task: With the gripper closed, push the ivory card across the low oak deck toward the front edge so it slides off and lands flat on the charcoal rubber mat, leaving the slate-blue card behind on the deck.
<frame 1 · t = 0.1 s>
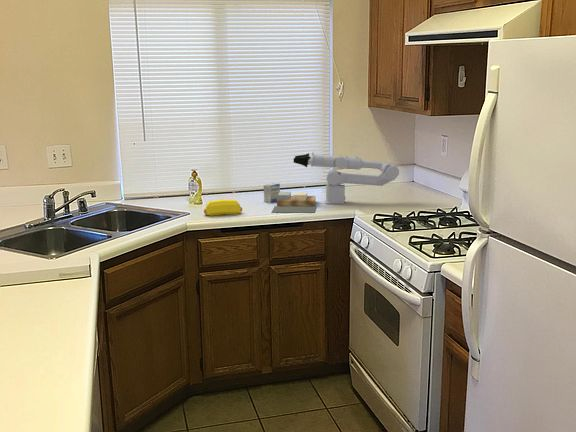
hand: (294, 159, 317), 22 cm above the worktop, tool horizontal, fingers open, 7 cm apart
deck: (296, 204, 318), on the worktop
mat: (294, 209, 304), on the worktop
ivory card: (300, 197, 317), point 3 cm above the worktop, touching deck
slate card: (284, 197, 318), point 3 cm above the worktop, touching deck
medicine box: (272, 201, 327), on the worktop
yellow rounded piece: (223, 214, 298), on the worktop
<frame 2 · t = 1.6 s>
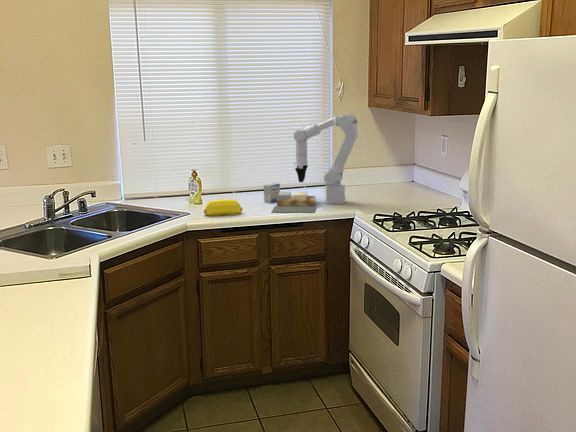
hand: (301, 180, 325), 10 cm above the worktop, tool pointing down, fingers open, 7 cm apart
nothing on the worktop moved.
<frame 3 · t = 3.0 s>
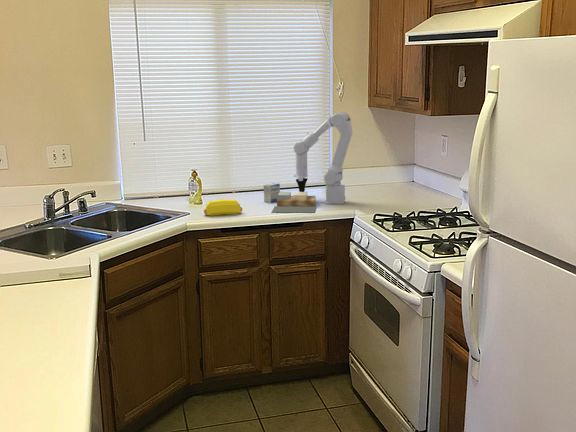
hand: (301, 192, 326), 4 cm above the worktop, tool pointing down, fingers closed
nothing on the worktop moved.
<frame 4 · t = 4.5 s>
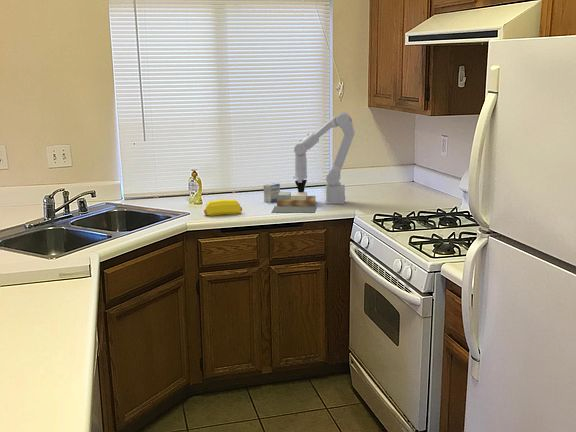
hand: (301, 194, 321), 4 cm above the worktop, tool pointing down, fingers closed
ivory card: (300, 198, 316), point 3 cm above the worktop, touching deck, gripper
everything else where it was.
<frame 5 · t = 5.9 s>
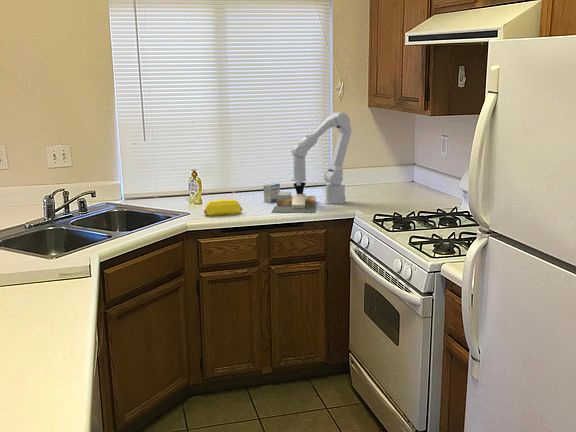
hand: (299, 197, 313), 4 cm above the worktop, tool pointing down, fingers closed
ivory card: (298, 203, 309), point 2 cm above the worktop, tilted 24°, touching gripper
everything else where it was.
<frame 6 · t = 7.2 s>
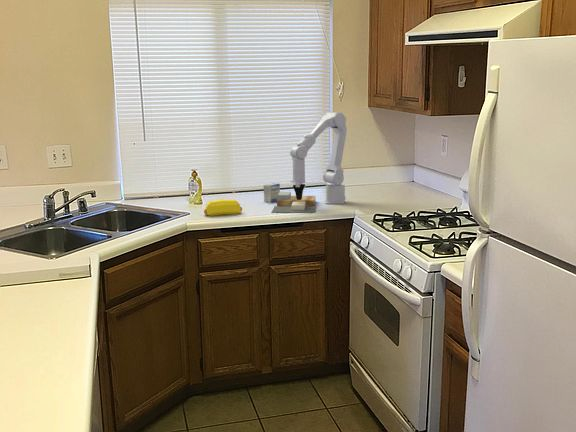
hand: (299, 199, 309), 4 cm above the worktop, tool pointing down, fingers closed
ivory card: (298, 207, 307), resting on mat
everything else where it was.
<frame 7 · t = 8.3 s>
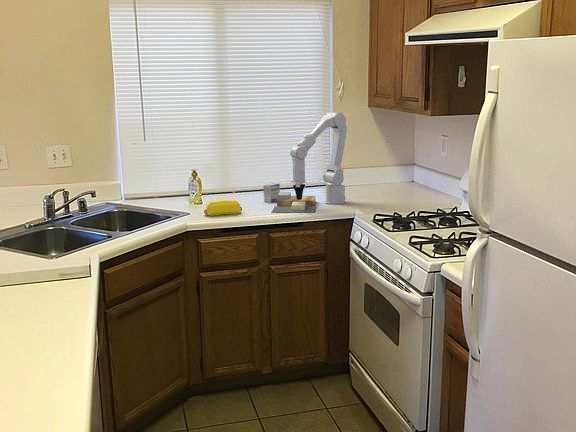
hand: (299, 199, 309), 4 cm above the worktop, tool pointing down, fingers closed
nothing on the worktop moved.
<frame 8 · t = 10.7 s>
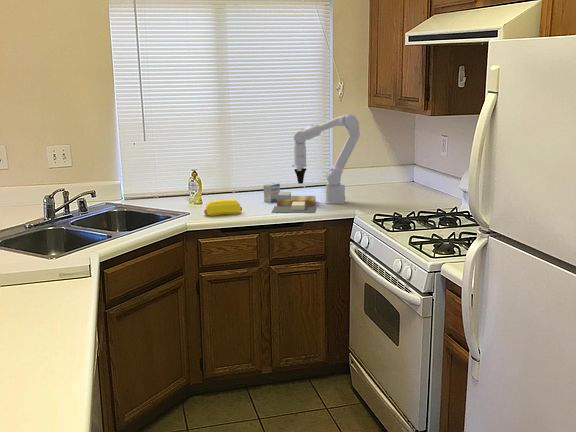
hand: (300, 183, 317), 10 cm above the worktop, tool pointing down, fingers closed
nothing on the worktop moved.
at the end: ivory card inside the target area (3.2 cm from its centre), resting on mat; ivory card touching mat; slate card moved 0.0 cm from its start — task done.
